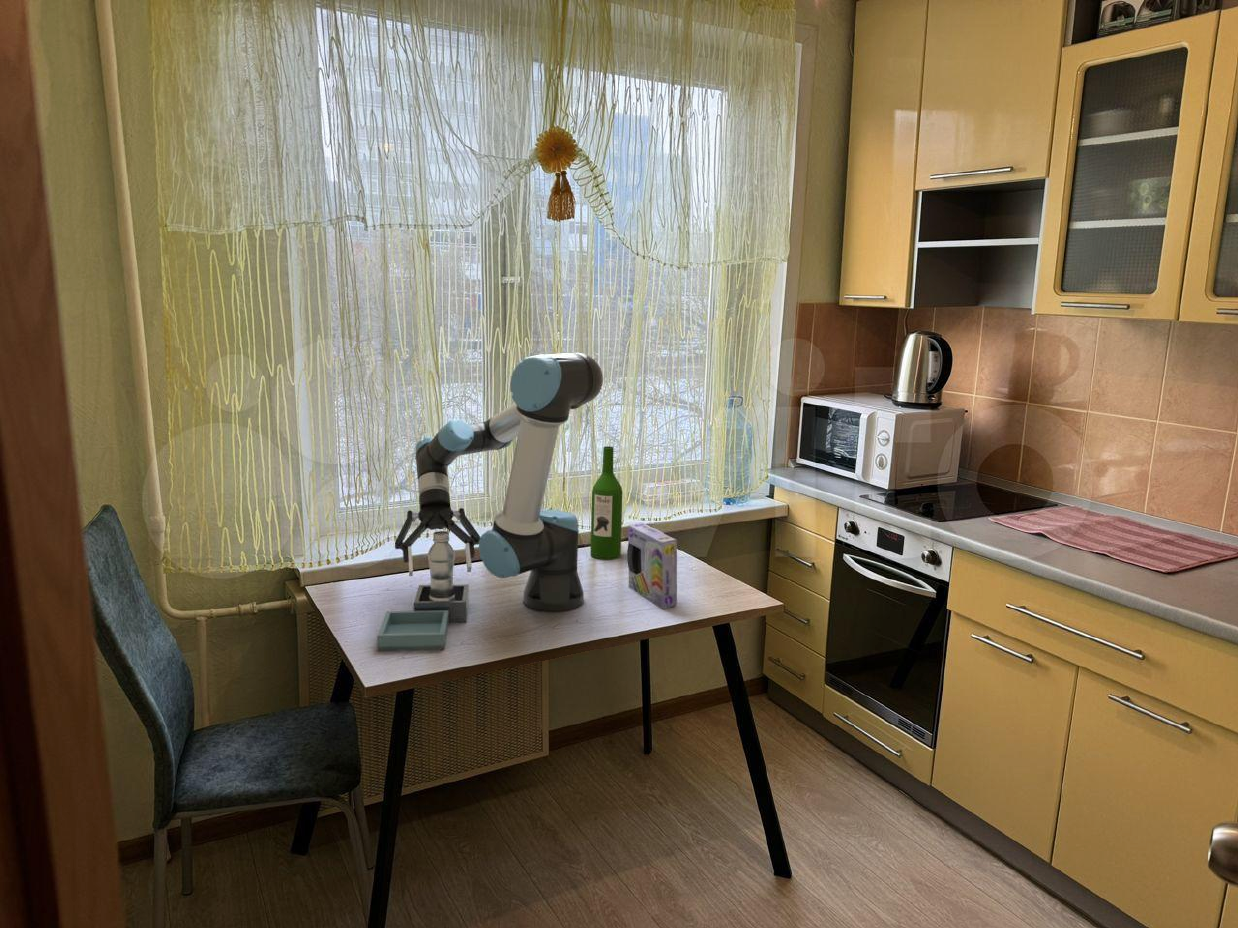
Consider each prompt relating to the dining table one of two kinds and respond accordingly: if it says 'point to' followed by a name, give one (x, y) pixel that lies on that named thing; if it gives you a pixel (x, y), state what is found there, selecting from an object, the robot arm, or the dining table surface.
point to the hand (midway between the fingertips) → (440, 571)
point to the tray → (413, 630)
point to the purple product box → (652, 564)
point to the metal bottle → (441, 568)
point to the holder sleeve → (445, 603)
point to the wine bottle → (606, 512)
